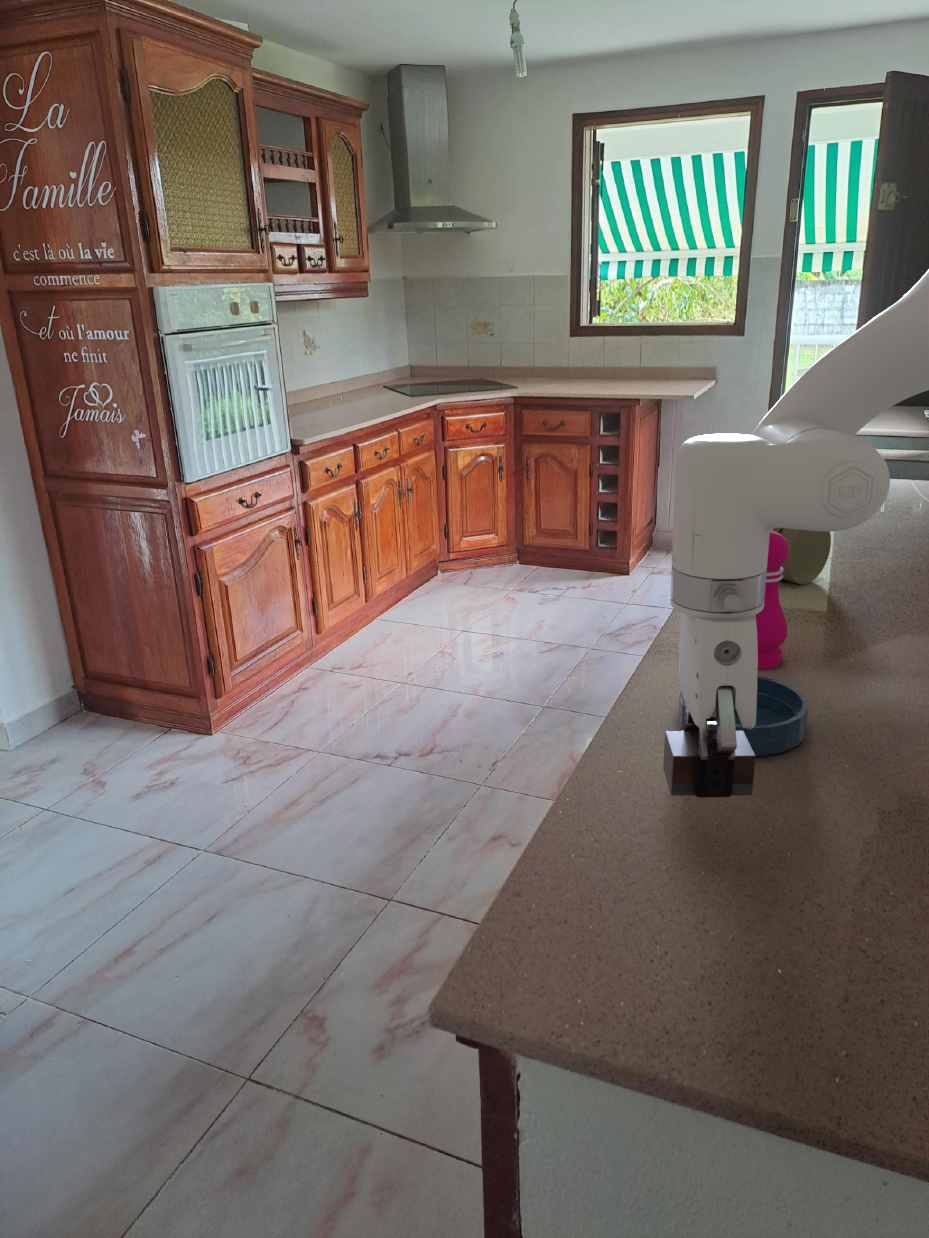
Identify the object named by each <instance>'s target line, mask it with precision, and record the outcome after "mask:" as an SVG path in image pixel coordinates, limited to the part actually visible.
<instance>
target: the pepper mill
mask: <svg viewBox="0 0 929 1238" xmlns="http://www.w3.org/2000/svg"><path fill="white" fill-rule="evenodd" d="M772 530H773V528H771V529H770V535H769V548H768V561H767V573H766V586H765V598H764V608H763V610H762V611H761V612H759V613H758V614H755V617H756V626H757V643H758V670H770V669H774V668H777V667H778V666H779V665H781V663H782V657H783V656H782V655H783V649H782V647H780V646H781V645H783V643H785V642H786V640H787V637H788V624H787V619H786V617H785V614H784V612H783V608H782V605H781V602H780V597H779V585H780V581H781V580H783V579H782V578H783V575H782V572H783V568H782V567H781V565H782V564H783V563H784V562H785V561H786V560H787V558H788V555H789V546H788V543H787V541H786V539H785V538H784V537H783V536H782V535H780V534H779V533H776V532H773V531H772Z"/></svg>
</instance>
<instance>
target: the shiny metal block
mask: <svg viewBox="0 0 929 1238" xmlns="http://www.w3.org/2000/svg"><path fill="white" fill-rule="evenodd" d="M716 737H717V731H708V743H709V742H710V740H711V739H716ZM736 738H737V749H736V750H735V761H734V775H733V789H732V795H731V796H752V795H753V787H754V780H755V779H754V778H755V777H754V776H755V767H756V757H757V756H755V754H754V752H753V750H752V748H751V746H750V744H749V741H748V739H747V737H746V735H745V733H744V731H736ZM663 746H664V747H663V748H664V749H663V765H662V767H663V773H664V776H665V780H666V783H667V786H668V789H669V793H670V796H672V797H673V796H675V797H676V796H678V797H679V796H680V797H681V796H682V797H684V796H685V797H687V796H688V797H689V796H691V797H692V796H693V797H694V796H695V794H694V774H695V755H696V754H700V752H699V731H682V730H670V731H669V730H665V731H664V745H663ZM695 797H696V796H695Z"/></svg>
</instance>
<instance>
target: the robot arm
mask: <svg viewBox="0 0 929 1238" xmlns="http://www.w3.org/2000/svg"><path fill="white" fill-rule="evenodd" d="M927 391H929V269H927V271H926V272H925V273H924V274H923V275H922V276H921V277H920V278H919V280H918V281H917V282H916V283H915V284H914V285H912V287H911V288H910V290H908V291H907V292H906V293H905V294H904V295H903V296H902V297H901V298H900V299H899V300H897V301H896V302H895V303H894V304H892V305H891V306H889V307H887V308H886V309H885V310H883V311H882V312H880V313H878V314H877V315H876V316H874V317H873V318H872V319H870V320H869V321H868V322H866V323H865V324H864V325H862V326H861V327H860V328H859V329H857V330H856V331H854V332H853V333H852V334H851V335H849V336H848V337H846V338H845V339H844V340H842V341H841V342H839V343H838V344H837V345H835V346H834V347H833V348H831V349H830V350H829V351H827V352H826V353H825V354H824V355H822V356H821V357H820V358H819V359H817V360H816V362H814V363H813V364H812V365H810V366H809V367H808V368H807V369H806V370H805V371H804V372H803V373H802V374H801V375H800V377H798V379H797V380H796V381H795V382H793V383H792V385H791V386H790V387H789V388H788V389H787V390H786V391H785V392H784V394H782V396H781V397H780V398H779V400H778V401H777V402H776V403H775V404H774V405H773V406H772V408H771V409H770V410H769V411H768V412H767V413H766V414H765V416H763V417H762V419H761V421H759V423H758V424H757V426H756V427H755V429H754V430H753V431H752V433H751V434H742V433H711V434H703V435H697V436H694V437H691V438H689V439H687V440H686V441H684V442H683V443H682V444H681V445H680V447H679V448H678V450H677V453H676V456H675V457H676V458H675V469H674V470H675V471H674V472H675V473H674V494H673V495H674V496H673V497H674V498H673V522H672V523H673V525H672V548H671V573H670V574H671V577H670V599H669V600H670V601H669V602H670V606H671V607H672V608H673V609H674V610H676V611H678V612H680V625H679V640H678V668H677V669H678V685H679V688H680V689H679V690H680V693H681V692H682V695H683V697H684V700H685V702H686V712H685V719H686V724H692V725H684V731H699V752H700V754H696V755H695V774H694V794H695V797H696V798H699V799H701V798H705V799H707V798H730V797H731V796H733V795H732V789H733V775H734V761H735V750H736V749H737V738H736V727H735V714H736V716H737V718H738V720H739V722H740V723H741V725H742V727H743V728H746V729H752V728H753V727H754V726H755V724H756V708H757V676H758V670H759V669H758V643H757V626H756V617H755V614H758V613H759V612H761V611H762V610H763V608H764V598H765V586H766V573H767V561H768V548H769V535H770V529H771V528H788V529H799V530H809V531H824V532H830V533H831V532H838V531H839V532H841V531H844V530H845V531H846V530H849V529H853V528H855V527H857V526H859V525H862V524H863V523H865V522H867V521H868V520H869V519H870V518H872V517H874V516H875V515H876V513H878V511H880V509H881V508H882V506H883V505H884V503H885V501H886V500H887V497H888V494H889V492H890V486H891V476H890V469H889V467H888V465H887V462H886V460H885V459H884V457H883V456H882V454H881V453H880V451H878V450H877V449H876V448H875V447H874V446H872V444H870V443H868V442H867V441H865V440H863V439H861V438H859V437H857V436H855V435H856V434H857V433H859V432H860V430H862V429H863V428H864V427H865V426H866V425H867V424H869V423H870V422H872V420H874V419H875V418H876V417H878V416H879V415H880V414H882V413H884V412H886V411H887V410H888V409H890V408H892V407H893V406H896V405H897V404H899V403H901V402H903V401H904V400H907V399H909V398H912V397H914V396H916V395H919V394H921V393H924V392H927ZM708 731H717V737H716V739H711V740H710V742H709V743H708Z"/></svg>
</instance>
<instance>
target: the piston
mask: <svg viewBox="0 0 929 1238" xmlns="http://www.w3.org/2000/svg"><path fill="white" fill-rule="evenodd" d="M772 531H773V532H776V533H779V534H780V535H782V536H783V537H784V538H785V539H786V541H787V543H788V546H789V555H788V558H787V560H786V561H785V562H784V563H783V564H782V565H781V567H782V568H783V572H782V575H783V578H782V579H781V580H785V581H788V582H792V583H795V584H798V585H807V584H809V583H811V582H813V581H814V580H816V578H818V576H820V574H821V573H822V572H823V569H824V568H825V566H826V564H827V562H828V559H829V556H830V553H831V552H830V551H831V546H832V535H831V531H830V532H824V531H809V530H799V529H788V528H773V530H772Z"/></svg>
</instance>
